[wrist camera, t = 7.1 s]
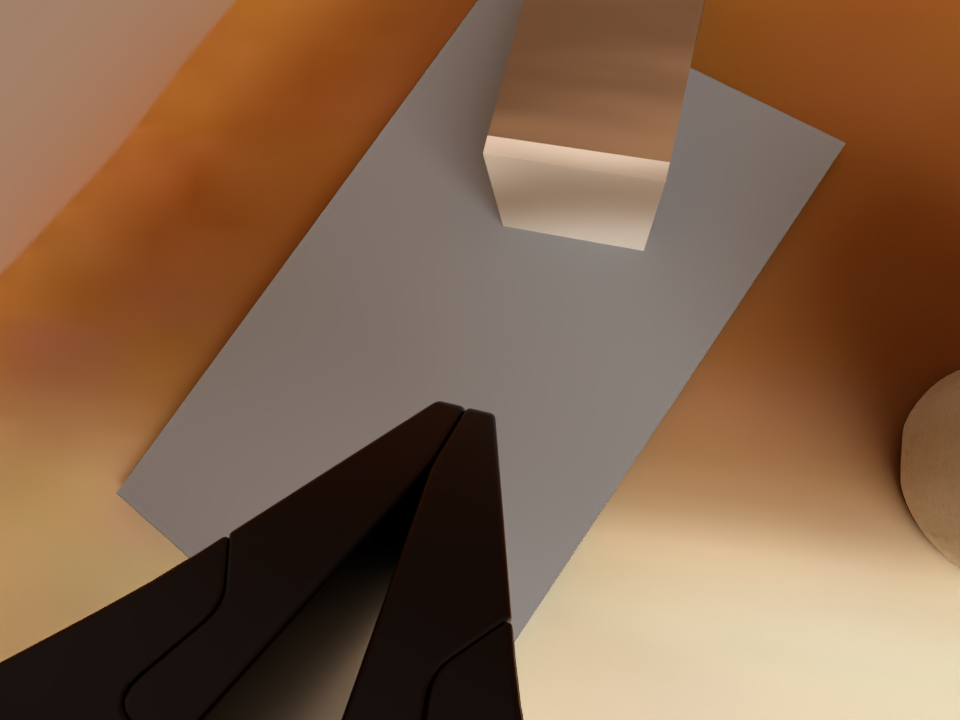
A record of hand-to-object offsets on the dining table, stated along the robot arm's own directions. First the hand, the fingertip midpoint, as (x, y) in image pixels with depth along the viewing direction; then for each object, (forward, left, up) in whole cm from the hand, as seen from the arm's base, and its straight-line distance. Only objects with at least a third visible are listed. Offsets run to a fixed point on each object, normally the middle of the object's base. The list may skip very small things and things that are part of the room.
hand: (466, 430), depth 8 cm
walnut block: (+6, +2, -7) cm, 10 cm away
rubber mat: (+2, +4, -10) cm, 11 cm away
